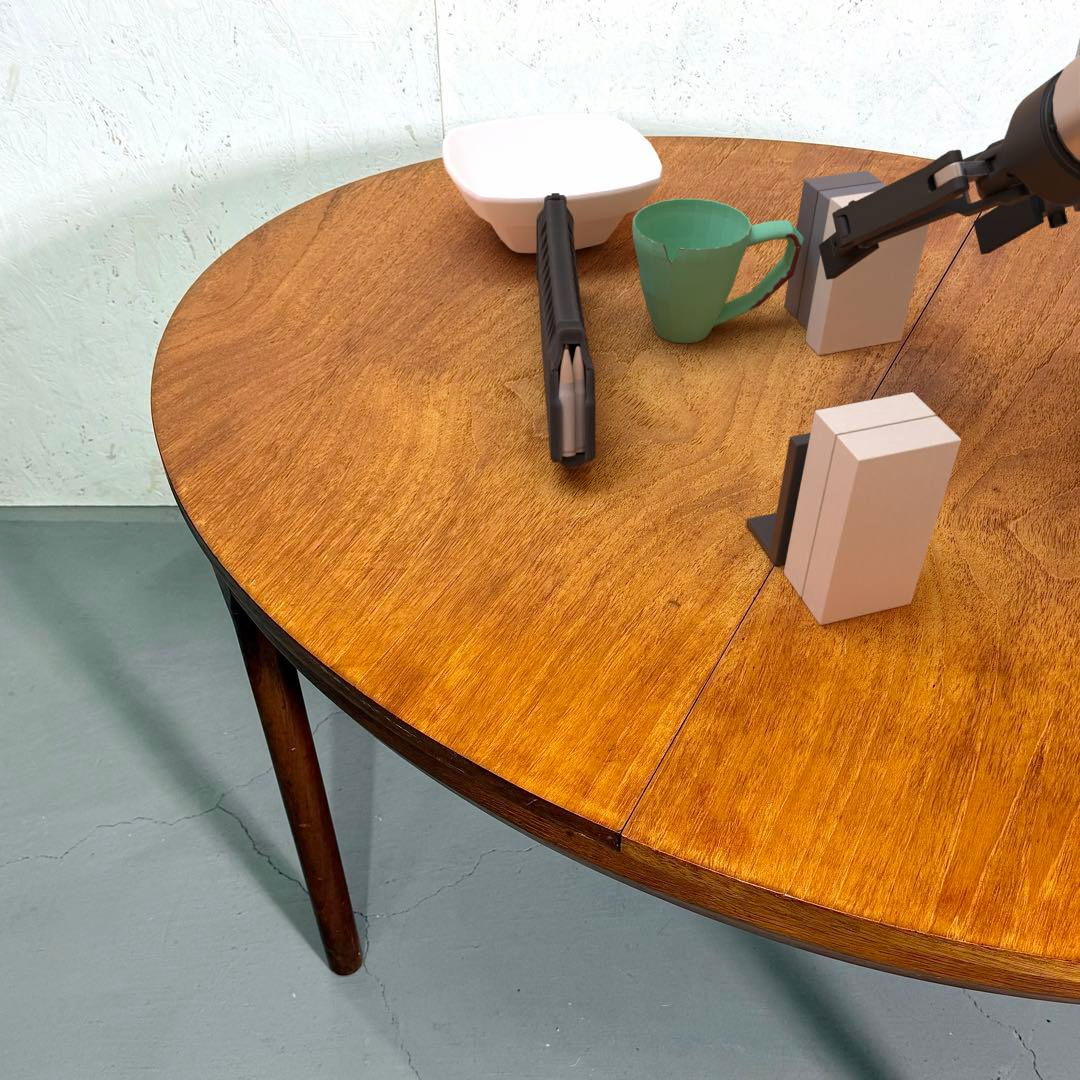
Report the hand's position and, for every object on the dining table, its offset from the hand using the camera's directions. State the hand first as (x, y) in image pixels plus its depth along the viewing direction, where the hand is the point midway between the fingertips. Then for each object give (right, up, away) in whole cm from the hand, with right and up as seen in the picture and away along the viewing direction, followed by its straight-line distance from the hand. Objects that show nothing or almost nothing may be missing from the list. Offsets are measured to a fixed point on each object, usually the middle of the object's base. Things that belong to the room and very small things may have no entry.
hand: (905, 249), depth 82 cm
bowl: (-27, +8, +26) cm, 39 cm away
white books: (-9, -24, -11) cm, 28 cm away
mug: (-13, -4, +12) cm, 18 cm away
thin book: (-1, -5, +10) cm, 11 cm away
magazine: (-27, -9, +6) cm, 29 cm away
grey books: (-2, -2, +14) cm, 14 cm away
